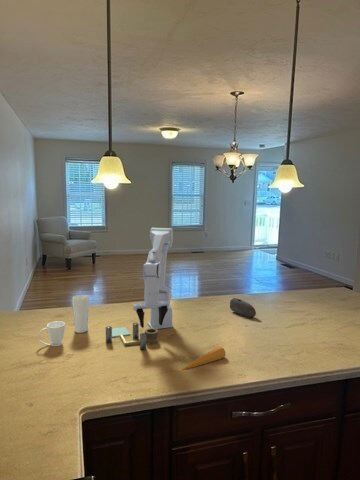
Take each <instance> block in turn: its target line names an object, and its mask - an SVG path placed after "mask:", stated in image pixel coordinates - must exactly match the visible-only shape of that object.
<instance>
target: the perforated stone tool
mask: <svg viewBox="0 0 360 480" xmlns="http://www.w3.org/2000/svg"><path fill="white" fill-rule="evenodd" d="M229 309H230V310H231V311H232V312H234V313H236V314H238V315H241V316H243V315H244V316H243V317H246V318H247V317H248V318H254V317H255V316H256V315H257V311H256V308H255V307H254V306H253V305H251V303H248V302H246V301H245V300H242V299H241V298H236V297H235V298H234V297H233V298H232V299H231V300H230V302H229Z"/></svg>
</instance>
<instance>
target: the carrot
mask: <svg viewBox="0 0 360 480" xmlns="http://www.w3.org/2000/svg"><path fill="white" fill-rule="evenodd" d="M225 356H226V350H225V348H224V347H222V346H217V347H215V348H213V349H212V350H210V351H208V352H207V353H205V354H203V355H202V356H200V357H198V358H197V359H195V360H193V361H191V362H189V364H187V365H185V366H184V367H183V368H181V369H180V371H184V370H188V369H192V368H195V367H198V366H202V365H205V364H208V362H209V363H211V362H212V363H213V362H214V361H218V359H219V360H221V358H222V359H223V358H225Z"/></svg>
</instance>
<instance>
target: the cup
mask: <svg viewBox="0 0 360 480" xmlns="http://www.w3.org/2000/svg"><path fill="white" fill-rule="evenodd" d="M65 326H66V323H65V322H64V321H62V320H58V321H56V320H54V321H50V322H48V323H47V325H46V327H44V328H42V329H40V330H39V333H38V340H39V341H40V343H41V344H43V345H45V346H51V347H59V346H61V345H62V344H63V340H64V336H65V328H66V327H65ZM43 331H47V334H48V335H47V336H48V339H49V342H50V343H46V342H45V341H43V340H41V339H40V337H41V333H42V332H43ZM62 346H63V345H62Z"/></svg>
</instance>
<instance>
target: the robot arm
mask: <svg viewBox="0 0 360 480" xmlns="http://www.w3.org/2000/svg"><path fill="white" fill-rule="evenodd" d="M149 240H150V243H151V246H152V249H151V250H150V251H148V255H147V260H146V262H145V263H143V266H142V276H143V282H144V292H143V293H144V298H143V299H144V301H143V302H139V303H134V304H132V310H133V311H135V312H136V314H137V317H138V319H139V326H140V328H142V329H144V327H145V321H144V318H145V312H144V310H147V309H150V321H147V324H148V325H149V327H150V329H151V328H153V329H157V330H161V329H169V328H173V327H174V326H173V308H172V306H171V290H170V288H169V287H168V286H167V285H166V284H165V283H166V272H167V269H166V268H167V258H168V257H167V255H168V252H169V249H171V248H172V247H173V243H174V242H173V240H174V229H173V228H172V227H170V228H169V227H167V228H166V227H151V228H150V231H149Z"/></svg>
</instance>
